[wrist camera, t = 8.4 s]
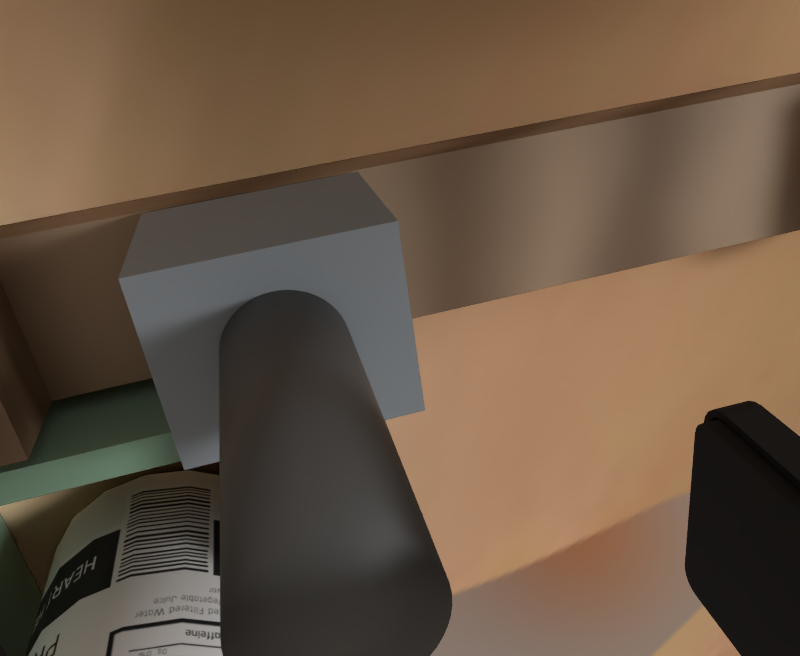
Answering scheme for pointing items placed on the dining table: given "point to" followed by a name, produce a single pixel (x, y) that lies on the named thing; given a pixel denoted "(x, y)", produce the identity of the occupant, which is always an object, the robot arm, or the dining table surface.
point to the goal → (76, 476)
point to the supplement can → (137, 573)
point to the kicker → (295, 411)
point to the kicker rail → (435, 226)
